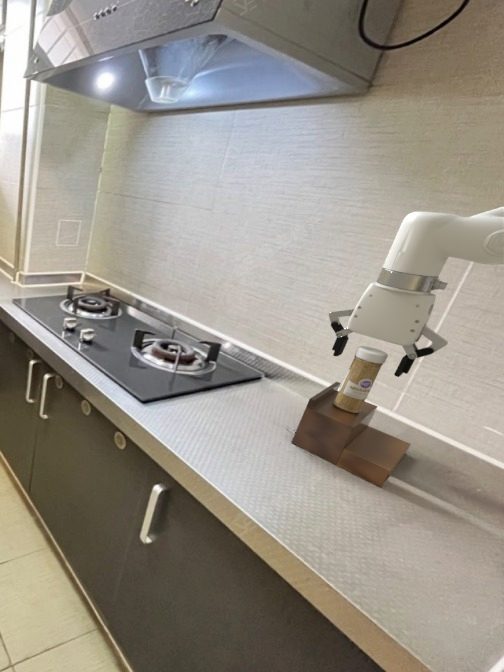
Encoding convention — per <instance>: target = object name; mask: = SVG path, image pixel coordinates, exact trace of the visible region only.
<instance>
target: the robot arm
mask: <svg viewBox="0 0 504 672" xmlns="http://www.w3.org/2000/svg"><path fill="white" fill-rule="evenodd" d="M388 251H389V252H388V254H387V256H386V258H385V260H384V262H383V265H382V267H381V270H380V272H379V274H378V277H377V279H376V280H375V282H371V283H370V284H369V285H368V286H367V288H366V289H365V291H364V292H363V294H362V295H361V297H360V299H359V300H358V302H357V304H356V305H355V307H354V308H352V309H351V308H349V309H342V310H335V311H334V310H333V311H330V312H329V313H328V317H329V321H330V327H331V328H332V330H333V331H334V334H335V337H336V338H335V341H334V344H333V346H332V349H331V350H332V351H334V352H333V354H332V356H333V357H339V356H341V355H342V354H343V353H344V350H345V348H346V346H347V343H348V341H349V339H350V338H349V334H352V333H355V334H359V335H362V336H366V337H369V338H372V339H375V340H380V341H383V342H386V343H391V344H393V345H398V346H402V348H403V350H404V352H405V355H404V356H402V358H401V360H400V361H399V364H398V366H397V368H396V369H395V372H394V376H395V377H397V378H400V377H401V376H402V375H403V374H405V375H408V373H409V372H410V371H411V368H412V366H413V364H414V362H415V360H416V359H419V358H422V357H426V356H431V355H433V354H434V353H436V352H437V351H439V350H441V349H443V348H444V347H446V346H447V345H449V342H448V340H446V339H445V338H444V337H442V336H441V335H440V334H439V333H437V332H435V331H434V330H432V328H430V327H429V326H427V324H428V323H429V320H430V317H431V314H432V312H433V309H434V306H435V302H436V298H437V295H436V293H432V291H437V290H442V291H445V290H446V288H447V286H448V284H449V283H448V282H445V281H443V280H441V279H440V275H441V273H442V271H443V268H444V266H445V264H446V263H447V260H448V258H455V259H459V260H464V261H468V262H469V261H470V262H473V263H477V264H480V265H492V266H493V265H504V206H500V207H497V208H494V209H491V210H487V211H483V212H481V213H477V214H474V215H471V216H461V215H458V214H455V213H447V212H446V213H445V212H436V211H435V212H434V211H433V212H432V211H412V212H410V213H408V214H407V215H406V216H405V217H404V218H403V220H402V222H401V224H400V226H399V229H398V231H397V232H396V235H395V238H394V240H393V243H392V245H391V247H390V249H389V250H388ZM343 317H344V318H345V317H349V319H348V321H347V324H346V327H344V326H343V325H342V323H341V321H340V318H343ZM422 336H423V337H425V338H426V339H428V340H429V341H430V342H431V344H430V345H428V346H426V347H422V348H419V347H418V346H417V342H419V341H420V339H421V338H422Z"/></svg>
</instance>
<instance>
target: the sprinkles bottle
mask: <svg viewBox="0 0 504 672" xmlns="http://www.w3.org/2000/svg"><path fill="white" fill-rule="evenodd" d="M388 357H389V355H388V353H387V352H385V351H383V350H381V349H378V348H376V347H371V346H365V345H361V346H357V349H356V351H355V353H354V358H353V359H352V362H351V364H350V365H349V368H348V370H347V372H346V373H345V377H344V378H343V381H342V383H341V384H340V386H339V388H338V391H339V393H338V395H337V397H336V399H335V401H334V402H333V404H334V405H335V406H336V407H337V408H339V409H341V410H344V411H347V412H351V413H359V412H360V411H361V407H362V405H363V403H364V401H365V402H366V400H367V399H368V396H369V394H370V392H371V390H372V388H373V385H374V383H375V381H376V379H377V376H378V375H379V372H380V370H381V368H382V366H383V365H384V364H385V362H386V361H387V359H388Z"/></svg>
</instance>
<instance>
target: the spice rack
mask: <svg viewBox="0 0 504 672" xmlns="http://www.w3.org/2000/svg"><path fill="white" fill-rule="evenodd" d="M341 385H342V383H341V382H339V381H335V382H334V383H332V384H330V385H329V386H327V387H326V388H324V389H323V390H321V391H319V392H318V393H316V394H315V395H314V396H312V397H310V398H309V399H308V402H307V404H306V407H305V409H304V411H303V414H302V416H301V418H300V421H299V423H298V425H297V427H296V429H295V432H294V434H293V437H292V438H291V439H292V440H291V442H290V443H291V444H293V445H295V446H297V447H299V448H301V449H302V450H305V451H306V452H309V453H311V454H313V455H315V456H317V457H319V458H321V459H323V460H324V461H327V462H329V463H331V464H333V465H335V466H336V467H339V468H340V469H342V470H345V471H346V472H349V473H351V474H352V475H354V476H356V477H359V478H360V479H362V480H365V481H366V482H368V483H371V484H372V485H375V486H377V487H378V488H380V489H381V488H382V487H383V485H385V483H386V482H387V481H388V479H389V478H390V477H391V474H392V472H393V471H394V470H395V468H396V467H397V466H398V464H399V463H400V462H401V461H402V459H403V458H404V457H405V455H407V453H408V450H409V448H410V447H411V444H412V443H410V442H408V441H406V440H403V439H400V438H398V437H396V436H394V435H391V434H389V433H387V432H384V431H381V430H379V429H376V428H374V427H372V426H370V423H371V420H372V419H373V417H374V415H375V412H376V411H377V409H378V405H375V404H372V403H370V402H368V401H366V400H365V401H364V403H363V405H362V407H361V411H360V412H359V413H351V412H347V411H344V410H341V409H339V408H337V407H336V406H335V405H334V404H333V402H334V401H335V399H336V397H337V395H338V393H339V389H340V387H341Z"/></svg>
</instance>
